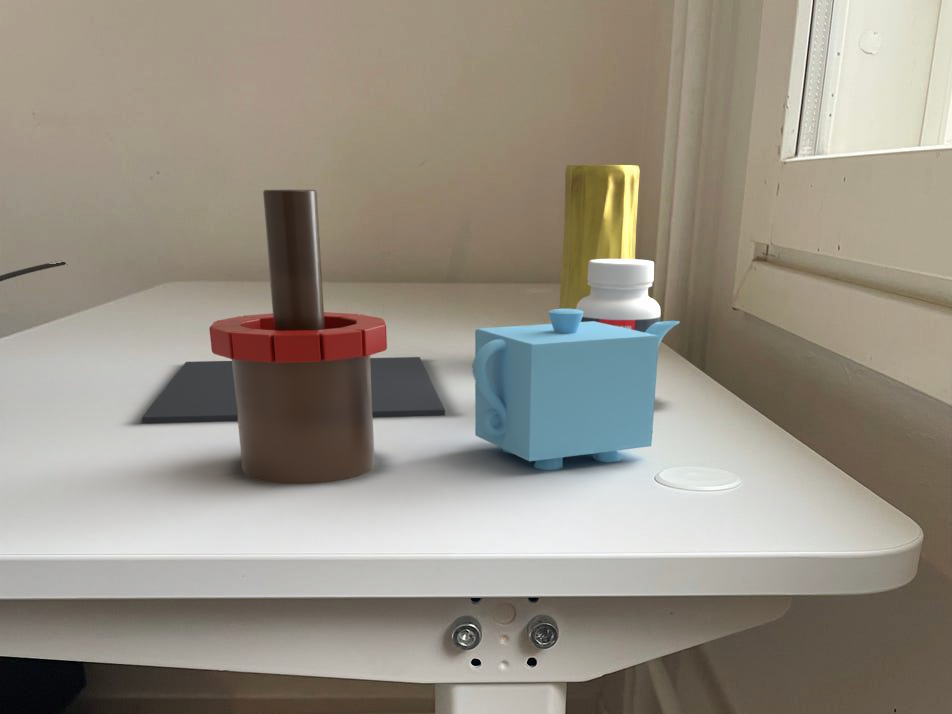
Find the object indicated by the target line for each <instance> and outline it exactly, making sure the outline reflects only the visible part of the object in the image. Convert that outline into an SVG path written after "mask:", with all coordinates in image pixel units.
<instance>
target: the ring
mask: <svg viewBox="0 0 952 714" xmlns="http://www.w3.org/2000/svg"><path fill="white" fill-rule="evenodd" d="M324 322H325V329H323V330H299V331H276V330H274V321H273V312H271V313H259V314H248V315H247V314H246V315H243V316H242V315H239V316H234V317H229V318H224V319H219V320H216V321H213V323H212V324H211V325H210V326H209V328H208V329H209V338H210V347H211V352H212V354H213V355H217V356H219V357H222V358H226V359H229V360H232V359H235V360H243V361H256V362H270V363H271V362H275V361H276V363H289V362H320V361H321V360H323V361H333V360H342V359H350V358H359V357H362V356H364V357H366V356H369V355H370V356H372V355H375V354H378V353H383V352H385V351H386V350H387V349H388V338H387V337H388V336H387V335H388V334H387V324H386V321H385V319H383V318H382V317H376V316H371V315H366V314H359V313H347V312H330V311H324Z"/></svg>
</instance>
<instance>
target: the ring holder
mask: <svg viewBox="0 0 952 714" xmlns="http://www.w3.org/2000/svg"><path fill="white" fill-rule="evenodd" d="M262 195H263V207H264V208H263V209H264V220H265V232H266V245H267V246H266V247H267V257H268V258H267V259H268V270H269V282H270V295H271V309H272V313H273V321H274V330H276V331H299V330H323V329H325V322H324V312H325V307H324V292H323V291H324V289H323V274H322V257H321V242H320V241H321V240H320V239H321V238H320V225H319V208H318V207H319V206H318V192H317V190H316V189H300V188H299V189H296V188H295V189H294V188H293V189H290V188H289V189H264V190H263V191H262ZM370 358H371V355H369V356H366V357H364V356H362V357H359V358H350V359H342V360H333V361H323V360H321V361H320V362H289V363H276V361H275V362H271V363H270V362H256V361H243V360H235V359H231V361H232V367H233V378H234V388H235V398H236V408H237V418H238V421H237V427H238V438H239V447H240V448H239V449H240V456H241V457H240V458H241V459H240V460H241V467H242V472H243V474H245V476H247V477H249V478H252V479H254V480H258V481H262V482H267V483H274V484H284V485H285V484H287V485H310V484H326V483H333V482H340V481H344V480H349V479H354V478H357V477H360V476H363V475H365V474H368V473H369V472H371V471H372V470H373V469H374V468H375V465H376V464H375V463H376V462H375V439H374V418H373V413H372V390H371V366H370Z"/></svg>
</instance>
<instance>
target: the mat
mask: <svg viewBox="0 0 952 714" xmlns="http://www.w3.org/2000/svg"><path fill="white" fill-rule="evenodd" d="M370 366H371V390H372V413H373V419H374V418H404V417H441V416H443V417H444V416H446V409H445V407H444V405H443V402H442V401H441V398H440V396H439V394H438V392H437V391H436V388H435V386H434V384H433V382H432V380H431V378H430V375H429V374H428V371H427V368H426V367H425V365H424V363H423V360H422V359H421V356H406V357H405V356H404V357H402V356H401V357H396V356H395V357H370ZM219 422H220V423H223V422H226V423H227V422H238V418H237V408H236V398H235V388H234V378H233V367H232V360H207V361H206V360H203V361H198V360H197V361H185V362H184V363H183V364H182V366H181V367H180V369H179V370H177V372H176V374H175V375H174V376H173V377H172V379H171V380H170V381H169V382H168V384H167V385H166V387H164V388H163V390H162V391H161V393H159V395H158V397H156V399H155V400H154V402H152V403H151V405H150V406H149V408H148V409H147V410H146V412H145V413H144V414H143V416H142V417H141V423H142V425H146V424H147V425H148V424H151V425H152V424H180V423H181V424H183V423H184V424H185V423H186V424H188V423H219Z"/></svg>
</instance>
